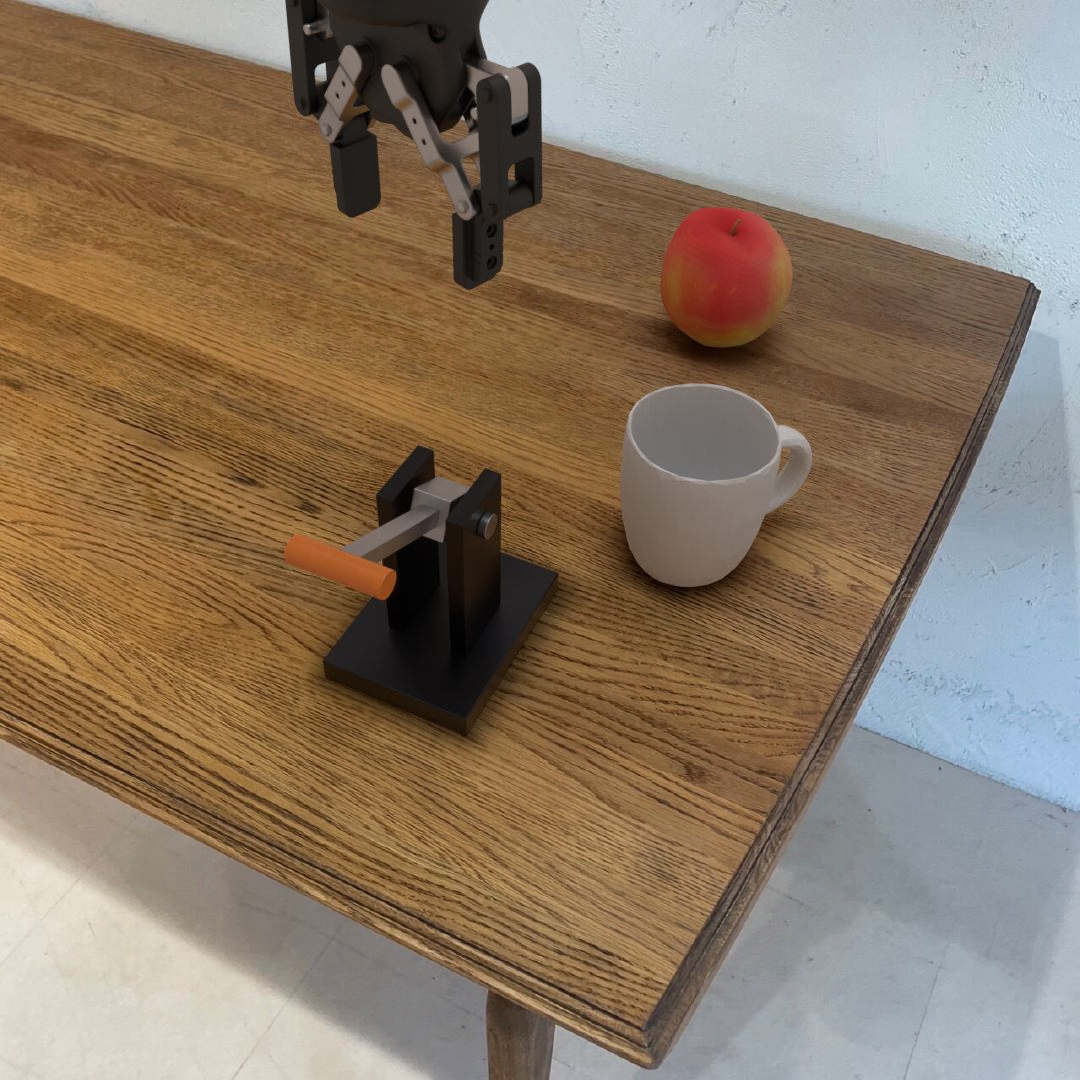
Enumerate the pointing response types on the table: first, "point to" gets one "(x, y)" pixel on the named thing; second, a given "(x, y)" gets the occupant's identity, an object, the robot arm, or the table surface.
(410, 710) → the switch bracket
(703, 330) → the apple
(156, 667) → the table surface
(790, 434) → the mug
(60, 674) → the table surface
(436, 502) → the switch
